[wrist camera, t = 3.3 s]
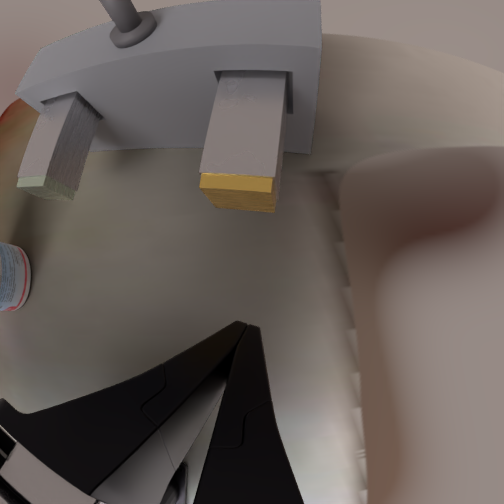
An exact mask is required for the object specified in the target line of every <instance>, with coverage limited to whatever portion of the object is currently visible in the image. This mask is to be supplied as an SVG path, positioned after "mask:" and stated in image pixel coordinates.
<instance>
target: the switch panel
mask: <svg viewBox="0 0 504 504" xmlns="http://www.w3.org/2000/svg"><path fill="white" fill-rule="evenodd" d="M99 1H100V2H101V3H102V5H103V7H104V8H105V10H106V11H107V12H108V14H109V16H110V17H111V19H112V20H113V21H110V22H107V23H104V24H101V25H98V26H95V27H92V28H89V29H86V30H84V31H81V32H78V33H75V34H73V35H70V36H68V37H65V38H63V39H61V40H58V41H56V42H54V43H51V44H49V45H47V46H45V47H43V48H41V49H40V50H39V52H38V54H37V55H36V57H35V58H34V60H33V62H32V63H31V65H30V67H29V68H28V70H27V72H26V74H25V75H24V77H23V79H22V81H21V83H20V85H19V86H18V89H17V90H16V92H15V94H16V95H17V96H19V97H20V98H21V99H22V100H24V101H25V102H26V103H28V104H29V105H30V106H31V107H33V108H34V109H35V110H37V111H38V112H39V113H41V111H42V109H43V107H44V104H45V102H46V100H47V99H50V98H53V97H57V96H60V95H64V94H67V93H71V92H75V91H77V92H79V93H80V94H81V95H82V96H83V97H84V98H85V99H86V100H87V101H88V102H89V103H90V104H91V105H92V106H93V107H94V108H95V109H96V110H97V111H98V112H99V113H100V114H101V117H100V120H99V123H98V126H97V128H96V131H95V134H94V137H93V140H92V143H91V146H90V149H89V151H91V152H94V151H107V150H123V149H145V148H204V145H205V140H206V135H207V131H208V126H209V122H210V118H211V113H212V109H213V105H214V101H215V97H216V93H217V89H218V85H219V81H220V77H221V73H222V70H271V71H289V78H290V90H289V101H288V112H287V122H286V132H285V142H284V152H292V153H303V154H311V149H312V141H313V132H314V124H315V115H316V105H317V96H318V86H319V75H320V64H321V52H322V30H321V3H320V0H215V1H206V2H198V3H190V4H184V5H178V6H172V7H167V8H162V9H157V10H152V11H143V12H138V13H137V11H136V9H135V7H134V5H133V4H132V2H131V0H99Z"/></svg>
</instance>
